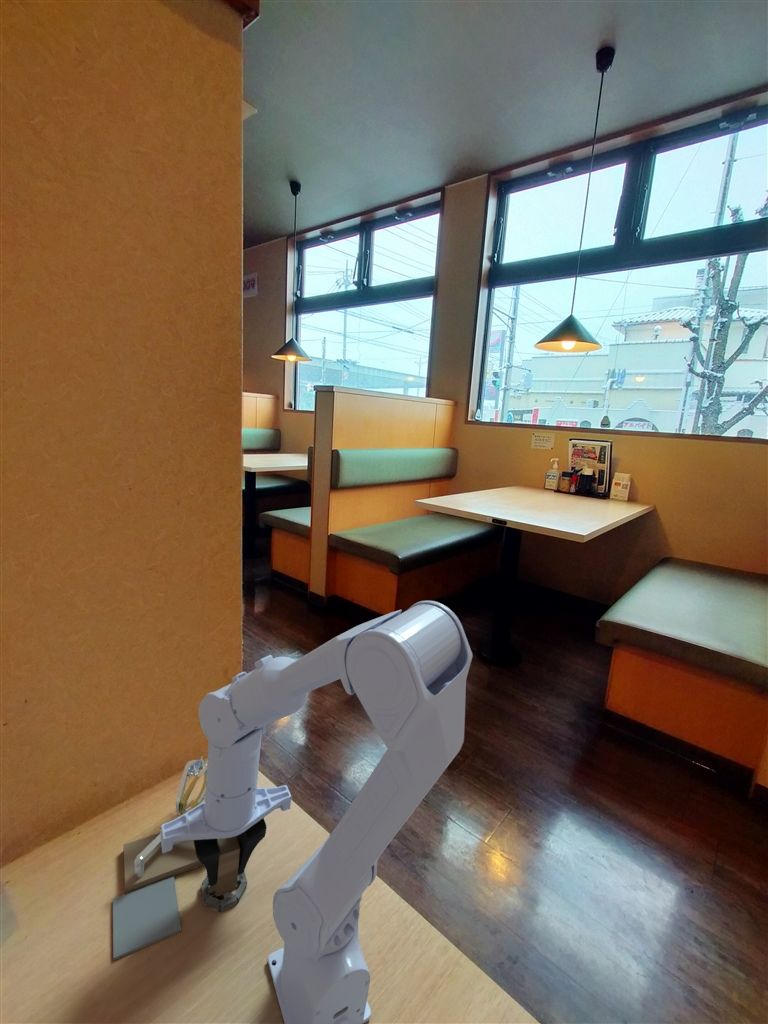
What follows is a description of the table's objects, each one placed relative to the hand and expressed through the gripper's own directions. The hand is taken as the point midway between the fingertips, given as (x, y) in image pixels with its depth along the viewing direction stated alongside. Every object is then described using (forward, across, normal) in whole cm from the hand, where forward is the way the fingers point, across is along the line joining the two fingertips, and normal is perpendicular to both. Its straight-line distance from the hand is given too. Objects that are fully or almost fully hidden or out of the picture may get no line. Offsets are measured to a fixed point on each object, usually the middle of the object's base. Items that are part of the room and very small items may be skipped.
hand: (225, 872), depth 55 cm
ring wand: (+2, 0, 0) cm, 2 cm away
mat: (+2, +8, 0) cm, 9 cm away
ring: (+3, +2, -13) cm, 13 cm away
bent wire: (+2, +4, -7) cm, 9 cm away
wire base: (+2, +4, -7) cm, 9 cm away
